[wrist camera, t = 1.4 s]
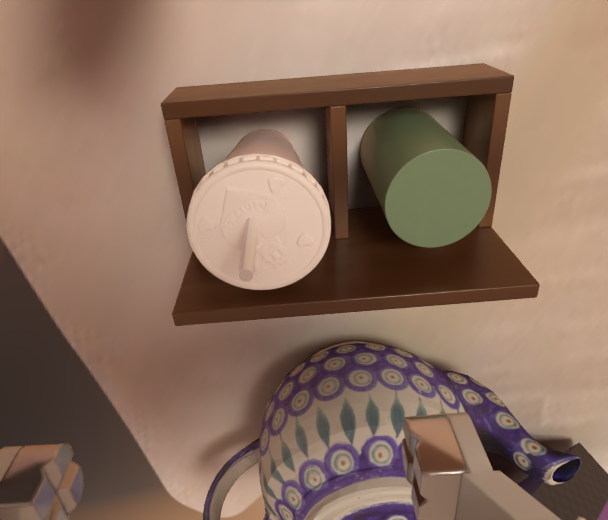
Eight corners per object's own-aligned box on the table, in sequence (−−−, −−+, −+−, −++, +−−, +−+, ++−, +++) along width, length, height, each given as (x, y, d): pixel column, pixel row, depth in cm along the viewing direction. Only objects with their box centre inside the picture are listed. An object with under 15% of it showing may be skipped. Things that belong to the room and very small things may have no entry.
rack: (175, 87, 27) (125, 138, 18) (484, 63, 27) (581, 102, 18) (203, 231, 31) (174, 326, 23) (467, 210, 31) (537, 298, 23)
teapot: (248, 479, 45) (235, 683, 32) (172, 365, 37) (114, 571, 24) (517, 409, 41) (624, 604, 28) (493, 268, 34) (625, 446, 21)
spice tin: (359, 110, 28) (385, 153, 21) (445, 103, 28) (499, 144, 21) (360, 190, 30) (383, 252, 23) (438, 183, 30) (485, 243, 23)
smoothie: (282, 83, 27) (284, 168, 15) (336, 176, 30) (374, 309, 18) (190, 141, 28) (124, 262, 16) (250, 224, 31) (232, 378, 19)
